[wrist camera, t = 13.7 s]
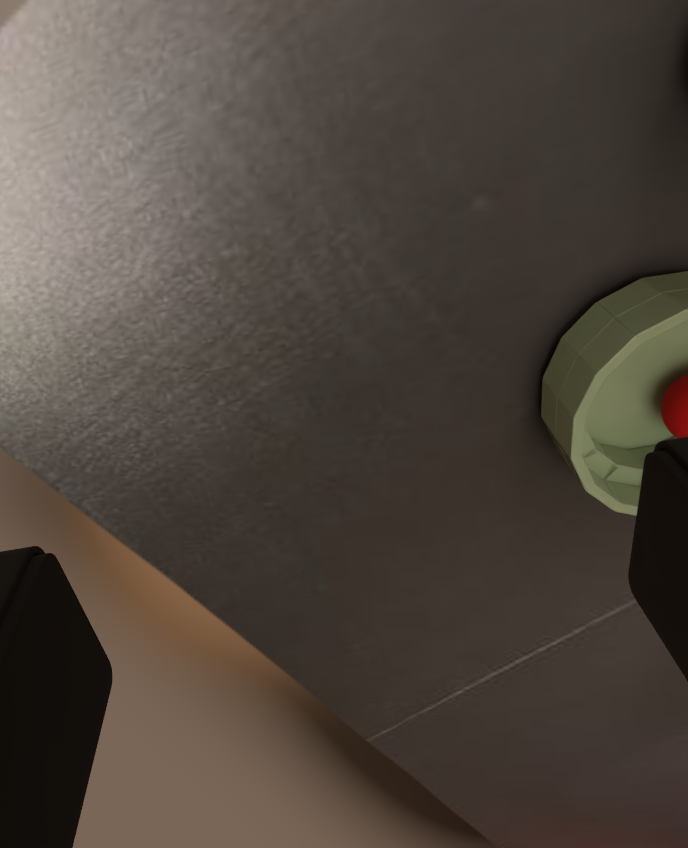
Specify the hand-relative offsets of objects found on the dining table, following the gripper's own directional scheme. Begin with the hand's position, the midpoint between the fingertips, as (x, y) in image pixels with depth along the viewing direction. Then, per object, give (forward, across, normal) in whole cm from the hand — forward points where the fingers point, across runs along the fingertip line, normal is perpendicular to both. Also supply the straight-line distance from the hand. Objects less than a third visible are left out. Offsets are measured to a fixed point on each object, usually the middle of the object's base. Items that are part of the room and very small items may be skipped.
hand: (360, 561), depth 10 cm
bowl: (+23, -17, +12) cm, 31 cm away
